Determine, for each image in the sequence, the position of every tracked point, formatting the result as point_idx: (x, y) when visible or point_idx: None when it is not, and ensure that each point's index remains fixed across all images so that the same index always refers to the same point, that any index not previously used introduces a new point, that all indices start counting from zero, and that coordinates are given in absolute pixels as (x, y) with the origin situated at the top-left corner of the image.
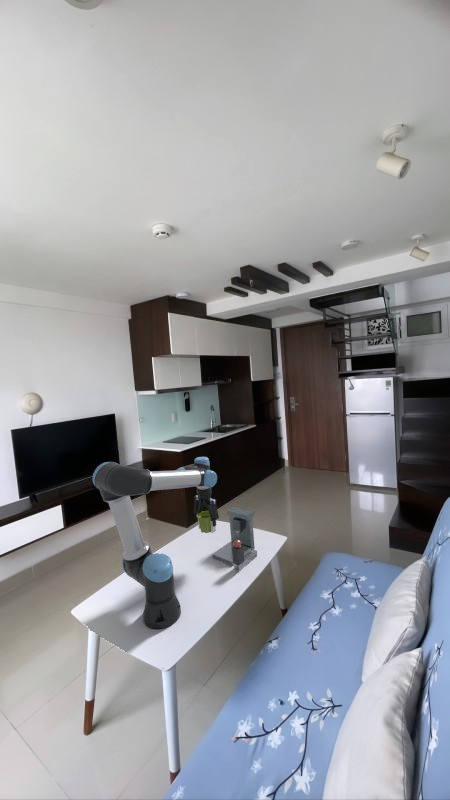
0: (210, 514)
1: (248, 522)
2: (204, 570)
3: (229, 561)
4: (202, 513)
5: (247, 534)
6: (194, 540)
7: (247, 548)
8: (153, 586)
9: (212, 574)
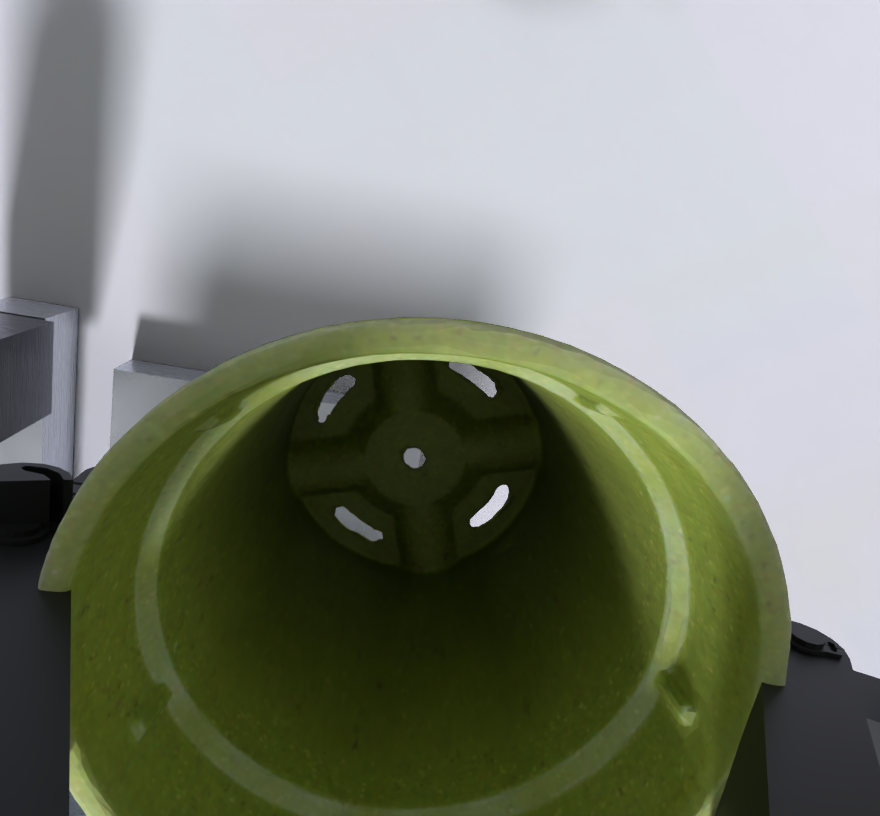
0: (4, 655)
1: None
2: (372, 160)
3: (162, 374)
4: (657, 781)
5: (73, 799)
6: (801, 619)
7: None
8: None
9: (242, 129)
